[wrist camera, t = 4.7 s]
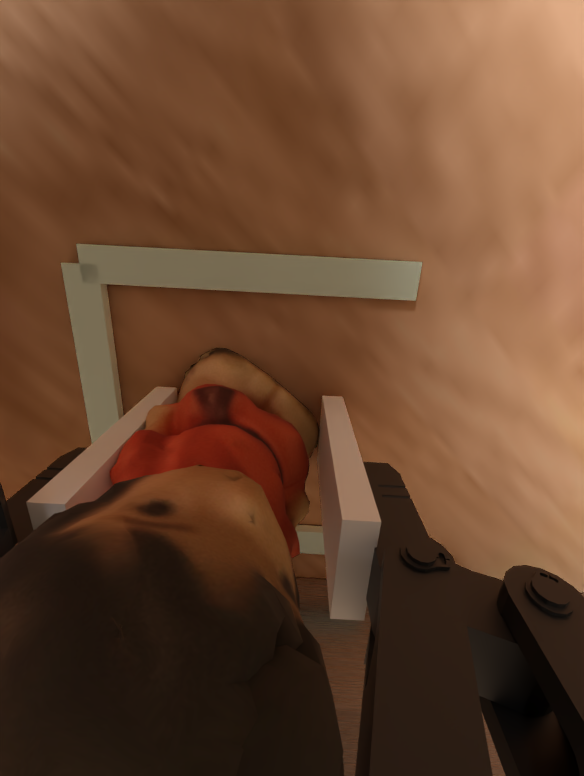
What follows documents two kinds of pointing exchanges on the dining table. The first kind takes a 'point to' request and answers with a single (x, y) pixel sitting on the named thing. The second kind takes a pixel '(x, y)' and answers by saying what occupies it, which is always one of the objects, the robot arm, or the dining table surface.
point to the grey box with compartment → (348, 666)
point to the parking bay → (210, 274)
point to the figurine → (174, 602)
